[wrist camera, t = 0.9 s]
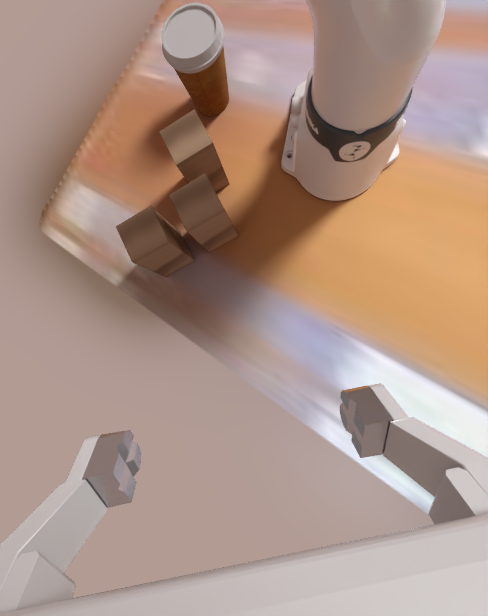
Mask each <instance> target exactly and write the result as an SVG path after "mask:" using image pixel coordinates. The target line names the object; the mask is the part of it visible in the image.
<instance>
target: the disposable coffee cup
mask: <svg viewBox="0 0 488 616" xmlns="http://www.w3.org/2000/svg"><path fill="white" fill-rule="evenodd" d="M223 42H224V28H223V25H222V23H221V21H220V19H219V18H218V17H217V15H216V13H215V12H214V11H213V9H212V8H210V7H209V6H207V5H205V4H202V3H190V4H186V5H184V6H181V7H179V8H178V9H176V10H175V11H174V12H173V13H171V15H170V16H169V17H168V18H167V20H166V22H165V23H164V26H163V30H162V50H163V54H164V57H165V59H166V60H167V62H168V63H169V64H170V65H171V66H172V67H173V68H174V69H175V71H176V72H177V74H178V76H179V78H180V79H181V81H182V83H183V84H184V86H185V88H186V90H187V91H188V93H189V95H190V96H191V98H192V100H193V102H194V103H195V105H196V107H197V108H198V110H199V111H200V113H202V114H203V115H206V116H214V115H217V114H219V113H221V112H222V111H223V110H224V109H225V108H226V106H227V104H228V102H229V94H228V85H227V76H226V66H225V57H224V48H223Z"/></svg>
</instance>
